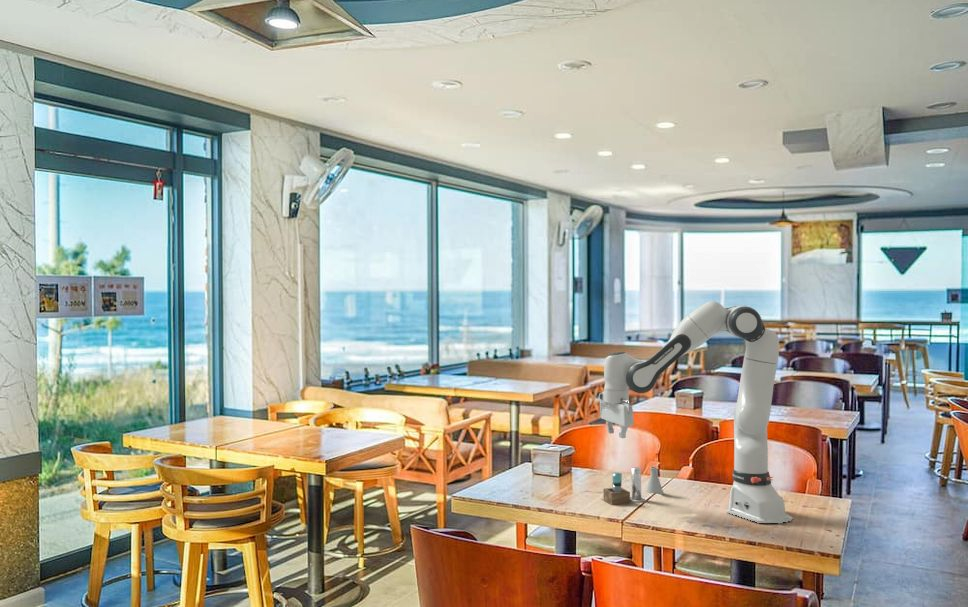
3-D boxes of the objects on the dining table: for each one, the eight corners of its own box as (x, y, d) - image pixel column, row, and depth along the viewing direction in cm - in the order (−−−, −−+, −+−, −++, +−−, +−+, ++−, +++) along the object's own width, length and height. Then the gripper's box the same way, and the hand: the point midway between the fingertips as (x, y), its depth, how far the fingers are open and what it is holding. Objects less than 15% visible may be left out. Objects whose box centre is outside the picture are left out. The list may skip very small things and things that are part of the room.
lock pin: (642, 499, 273) (641, 468, 273) (633, 500, 272) (632, 469, 273) (639, 497, 276) (639, 467, 276) (630, 497, 276) (630, 467, 276)
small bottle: (614, 502, 270) (615, 475, 270) (610, 500, 273) (611, 472, 273) (622, 502, 271) (623, 474, 271) (618, 499, 274) (619, 472, 274)
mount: (649, 504, 271) (649, 490, 271) (611, 508, 267) (611, 494, 267) (638, 499, 279) (638, 485, 279) (601, 502, 275) (601, 488, 275)
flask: (662, 491, 290) (662, 465, 289) (665, 496, 282) (665, 470, 282) (643, 491, 290) (643, 465, 290) (645, 496, 283) (645, 469, 283)
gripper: (638, 400, 263) (638, 440, 263) (612, 393, 282) (612, 430, 282) (621, 401, 261) (621, 441, 261) (596, 393, 280) (596, 431, 281)
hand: (616, 435), depth 272 cm, fingers open, 8 cm apart
